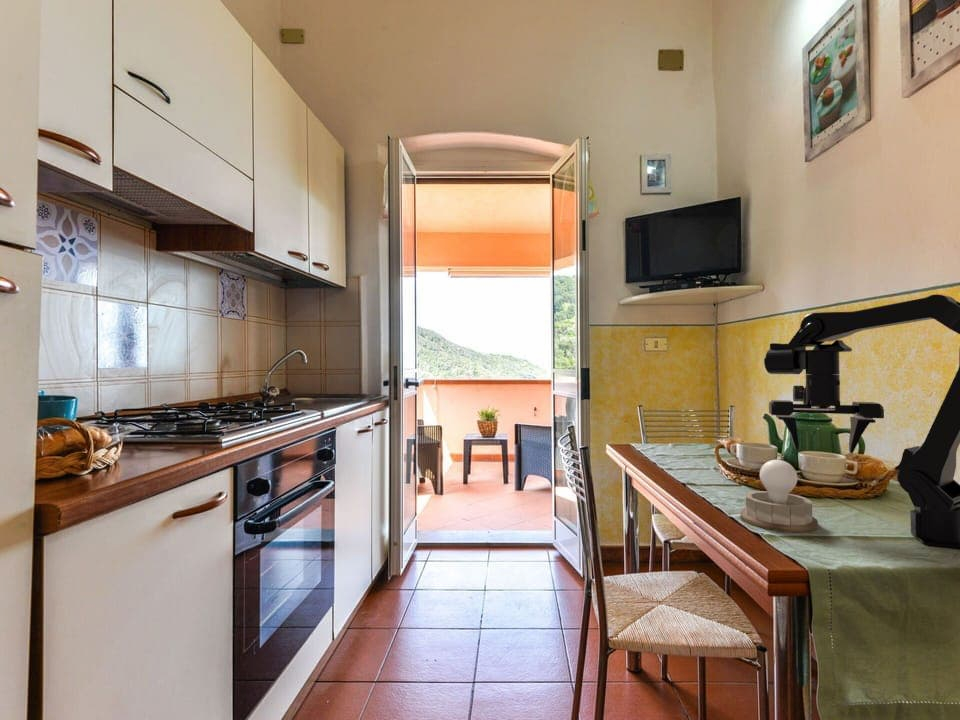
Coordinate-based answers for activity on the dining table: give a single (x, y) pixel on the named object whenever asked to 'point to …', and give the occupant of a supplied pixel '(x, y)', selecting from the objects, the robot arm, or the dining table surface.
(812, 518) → the holder
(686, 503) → the dining table surface
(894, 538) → the dining table surface
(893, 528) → the dining table surface
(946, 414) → the robot arm
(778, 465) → the lightbulb
